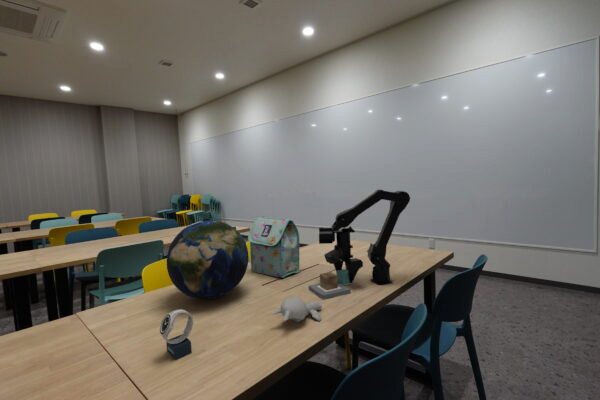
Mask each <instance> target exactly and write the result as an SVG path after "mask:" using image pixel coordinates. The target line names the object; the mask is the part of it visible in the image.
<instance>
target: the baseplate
mask: <svg viewBox="0 0 600 400" xmlns="http://www.w3.org/2000/svg"><path fill="white" fill-rule="evenodd" d="M308 290H309V291H311V292H312V293H313V294H315V295H316V296H317V297H318V298H321V300H327V299H332V298H335V297H340V296H345V295H348V294H349V295H350V294H351V292H352V290H351V288H350V287H347V285H342V284H340V283H338V288H335V289H331V290H325V289H323V288H322V287H320V282H318V283H315V284H310V285H308Z"/></svg>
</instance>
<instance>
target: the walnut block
mask: <svg viewBox="0 0 600 400" xmlns="http://www.w3.org/2000/svg"><path fill="white" fill-rule="evenodd" d="M319 283H320V287H322V288H323V289H325V290H331V289H335V288H338V280H337V275H336V273H333V272H331V271H328V272H323V273H320V274H319Z"/></svg>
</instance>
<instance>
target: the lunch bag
mask: <svg viewBox="0 0 600 400" xmlns="http://www.w3.org/2000/svg"><path fill="white" fill-rule="evenodd" d="M247 241H248V242H249V247H250V249H249V250H250V251H249V252H250V270H251V272H254V273H258V274H263V275H267V276H272V277H277V278H286V277H288V276H289V275H292V274H297V273H298V274H299V273H300V271H301V269H300V232H299V230H298V228H297V225H296V223H295V222H294V220H292V219H285V218H277V217H266V216H261V217H256V219H255V220H254V222H253V223H252V226H251V228H250V231H249V234H248V236H247Z"/></svg>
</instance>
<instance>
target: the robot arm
mask: <svg viewBox="0 0 600 400" xmlns="http://www.w3.org/2000/svg"><path fill="white" fill-rule="evenodd" d="M382 200H384V201H389V210H388V213H387V216H386V218H385V220H384V221H383V225H382V227H381V230H380V232H379V235H378V236H377V240H376V241H375V242H374V243H372V242H370V243H369V248H368V250H366V252H367V258H368V260H369V261H370V263H371V264H372V265H374V266H372V271H371V274H372V275H371V277H372V278H370V281H371V282H374V283H376V284H377V285H380V286H381V285H386V284H390V283H393V280H391V278H390V277H391V275H390V273H391V272H390V267H391V263H389V262H388V260H387V259H386V255H387V246H388V244H389V241H390V238H391V236H392V233H393V231H394V229H395V226H396V225H397V222H398V219H399V218H400V215H401V214H402V212H403V211H405V209H406V208H407V206H408V204H409V203H410V201H411V196H410V194H409V193H408V192H407V191H404V190H396V191H394V192H393V191H389V190H388V191H387V190H384V189H381V188H379V189H376V190H375V191H374V192H373V193H372V194H370V195H369V196H367V197H365V198H364V199H363V200H361V201H360V202H358V203H357V204H355V205H354V206H353V207H350V208H348V209H345V210H343V211H341V212H339V213H337V214H336V215H335V221H334V223H333V224H331V227H322V226H321V227H318V244H319V245H320V244H322V245H325V244H328V245H329V244H333V243H334V242H335V241H336V244H335V245H334V247H333V249H332V250H330V251H328V252H326V253H324V255H323V256H324V259H325V261H326V263H329V264H330V265H333V266H334V267H333V268H334V269H335V272H336V271H337V270H342V269H343V265H344V266H345V267H344V269H347V270H348V275H349V281H350V283H352V282H353V283H354V280H355V277H356V276H357V274H358V272H359V270H360V269H362V268H363V267H364V261H362V259H359V258H357V257H355V258H354V255H353V254H352V250H351V249H353V248H354V245H353V244H351V233H355V230H354V228H353V227H352V225H351V224H352V223H353V222H354V221H355V220H356V219H357V217H359V216H360V215H362V213H363V212H365V211H367V210H369V209H370V208H371V207H372V206H374V205H375V204H377V203H378V202H380V201H382Z"/></svg>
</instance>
